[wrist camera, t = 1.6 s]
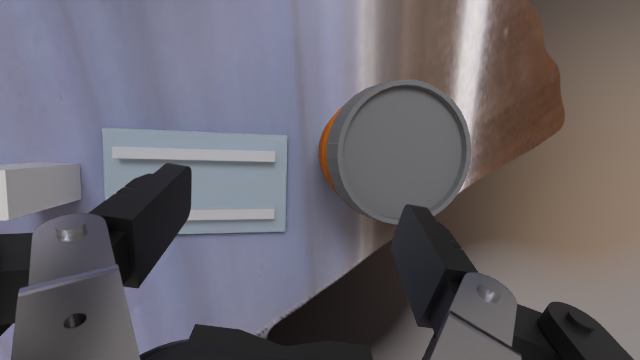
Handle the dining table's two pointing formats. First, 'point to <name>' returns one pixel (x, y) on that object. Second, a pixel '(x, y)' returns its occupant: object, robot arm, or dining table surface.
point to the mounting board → (208, 174)
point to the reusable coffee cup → (396, 149)
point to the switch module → (37, 187)
